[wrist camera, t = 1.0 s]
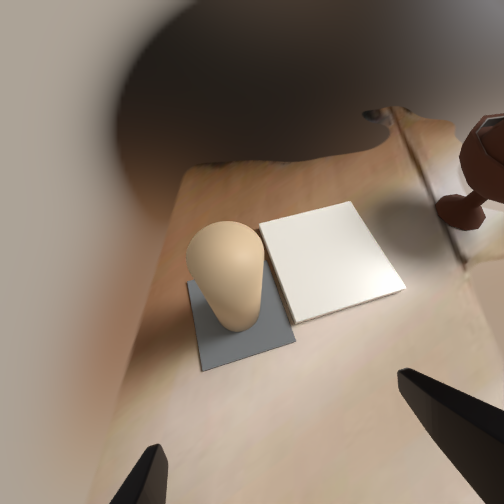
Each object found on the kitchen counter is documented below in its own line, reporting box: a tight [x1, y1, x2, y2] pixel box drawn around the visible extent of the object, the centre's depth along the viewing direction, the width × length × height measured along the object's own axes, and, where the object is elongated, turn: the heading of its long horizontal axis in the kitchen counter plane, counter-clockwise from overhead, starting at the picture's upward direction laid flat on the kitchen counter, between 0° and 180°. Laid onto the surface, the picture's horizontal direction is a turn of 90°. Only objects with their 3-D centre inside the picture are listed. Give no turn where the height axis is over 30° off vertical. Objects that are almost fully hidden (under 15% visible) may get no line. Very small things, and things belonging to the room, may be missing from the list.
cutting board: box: [259, 201, 406, 324], centre depth 26 cm, size 12×12×1 cm
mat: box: [187, 260, 296, 371], centre depth 24 cm, size 9×9×1 cm
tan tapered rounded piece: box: [186, 221, 264, 332], centre depth 18 cm, size 4×4×12 cm
